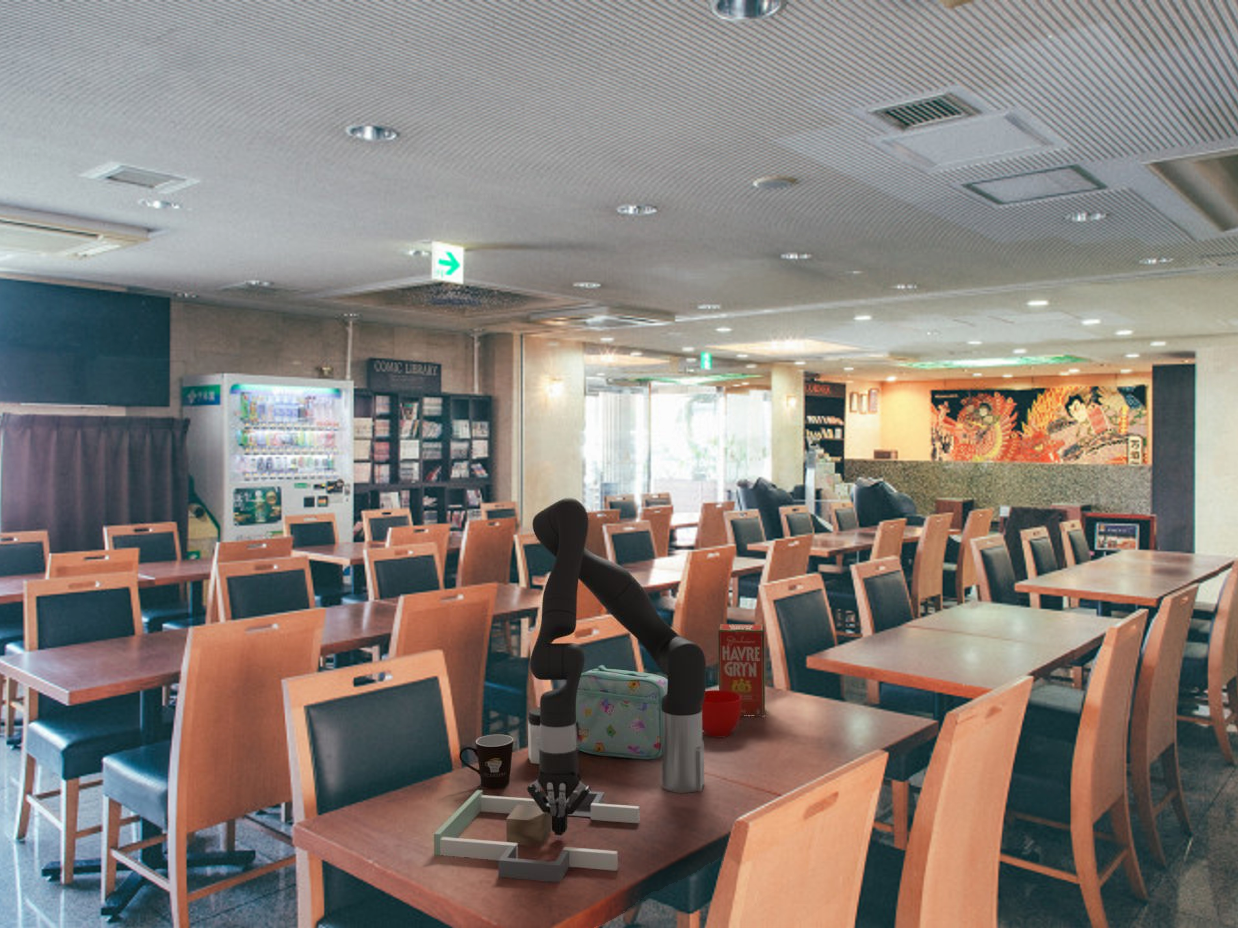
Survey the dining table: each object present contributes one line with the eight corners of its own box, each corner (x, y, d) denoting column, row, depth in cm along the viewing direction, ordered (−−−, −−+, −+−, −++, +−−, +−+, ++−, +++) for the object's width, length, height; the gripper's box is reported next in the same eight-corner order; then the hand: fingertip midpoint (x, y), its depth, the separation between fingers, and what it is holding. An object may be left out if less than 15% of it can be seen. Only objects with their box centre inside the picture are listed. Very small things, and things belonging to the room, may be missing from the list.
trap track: (644, 808, 189) (644, 790, 189) (608, 886, 155) (608, 863, 155) (487, 797, 196) (487, 779, 196) (420, 869, 162) (419, 847, 162)
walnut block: (551, 831, 178) (550, 806, 178) (541, 846, 171) (541, 820, 171) (517, 829, 180) (517, 804, 180) (506, 844, 173) (506, 818, 173)
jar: (522, 762, 219) (521, 713, 218) (535, 752, 226) (534, 705, 226) (556, 766, 216) (555, 716, 216) (568, 755, 224) (567, 707, 224)
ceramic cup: (688, 722, 250) (687, 687, 250) (747, 729, 243) (746, 692, 243) (672, 736, 238) (672, 698, 238) (734, 743, 231) (734, 704, 231)
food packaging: (718, 715, 256) (717, 628, 256) (720, 706, 265) (719, 622, 265) (765, 717, 254) (764, 629, 254) (765, 708, 263) (764, 623, 263)
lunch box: (563, 753, 225) (562, 668, 225) (580, 740, 235) (579, 659, 235) (663, 765, 215) (662, 677, 215) (676, 752, 225) (675, 667, 225)
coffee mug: (520, 779, 207) (519, 736, 207) (503, 792, 199) (503, 747, 199) (475, 773, 211) (475, 731, 211) (457, 786, 203) (457, 742, 203)
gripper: (595, 740, 177) (596, 828, 177) (531, 737, 179) (532, 823, 179) (586, 753, 169) (587, 844, 169) (520, 749, 172) (521, 839, 172)
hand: (559, 833), depth 174 cm, fingers closed
